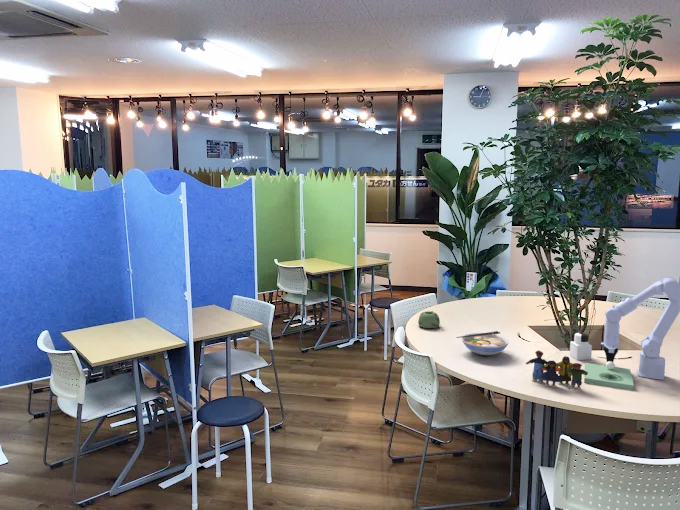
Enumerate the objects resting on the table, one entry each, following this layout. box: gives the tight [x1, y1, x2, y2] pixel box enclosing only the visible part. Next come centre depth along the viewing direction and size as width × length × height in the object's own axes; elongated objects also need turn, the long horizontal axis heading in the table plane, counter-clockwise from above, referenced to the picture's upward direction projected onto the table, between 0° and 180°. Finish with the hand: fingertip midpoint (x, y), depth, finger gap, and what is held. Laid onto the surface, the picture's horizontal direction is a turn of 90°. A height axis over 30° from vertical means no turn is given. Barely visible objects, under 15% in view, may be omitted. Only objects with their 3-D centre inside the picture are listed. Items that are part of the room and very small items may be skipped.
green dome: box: [417, 310, 441, 329], centre depth 292 cm, size 16×13×9 cm
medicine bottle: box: [569, 332, 593, 361], centre depth 235 cm, size 7×7×12 cm
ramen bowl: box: [456, 330, 509, 356], centre depth 243 cm, size 25×23×8 cm
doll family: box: [525, 350, 588, 391], centre depth 204 cm, size 23×9×13 cm, turn 75°
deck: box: [583, 362, 635, 391], centre depth 211 cm, size 18×20×2 cm
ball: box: [605, 361, 616, 369], centre depth 215 cm, size 4×4×4 cm
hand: (609, 363), depth 220 cm, fingers closed
